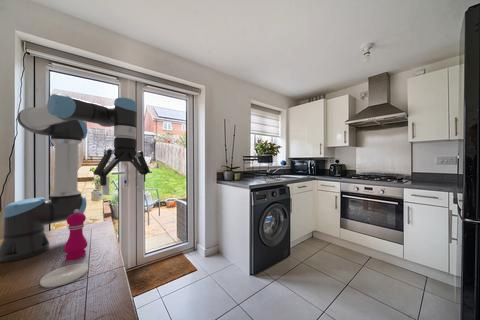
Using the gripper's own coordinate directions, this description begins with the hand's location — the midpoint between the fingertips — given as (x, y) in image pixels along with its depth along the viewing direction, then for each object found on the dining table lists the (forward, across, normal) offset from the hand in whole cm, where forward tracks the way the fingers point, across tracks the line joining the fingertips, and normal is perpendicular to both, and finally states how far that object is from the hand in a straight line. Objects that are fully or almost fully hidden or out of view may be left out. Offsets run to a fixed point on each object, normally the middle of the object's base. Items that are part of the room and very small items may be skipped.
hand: (124, 192), depth 71 cm
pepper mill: (+28, -5, +24) cm, 37 cm away
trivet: (+28, -13, +11) cm, 33 cm away
